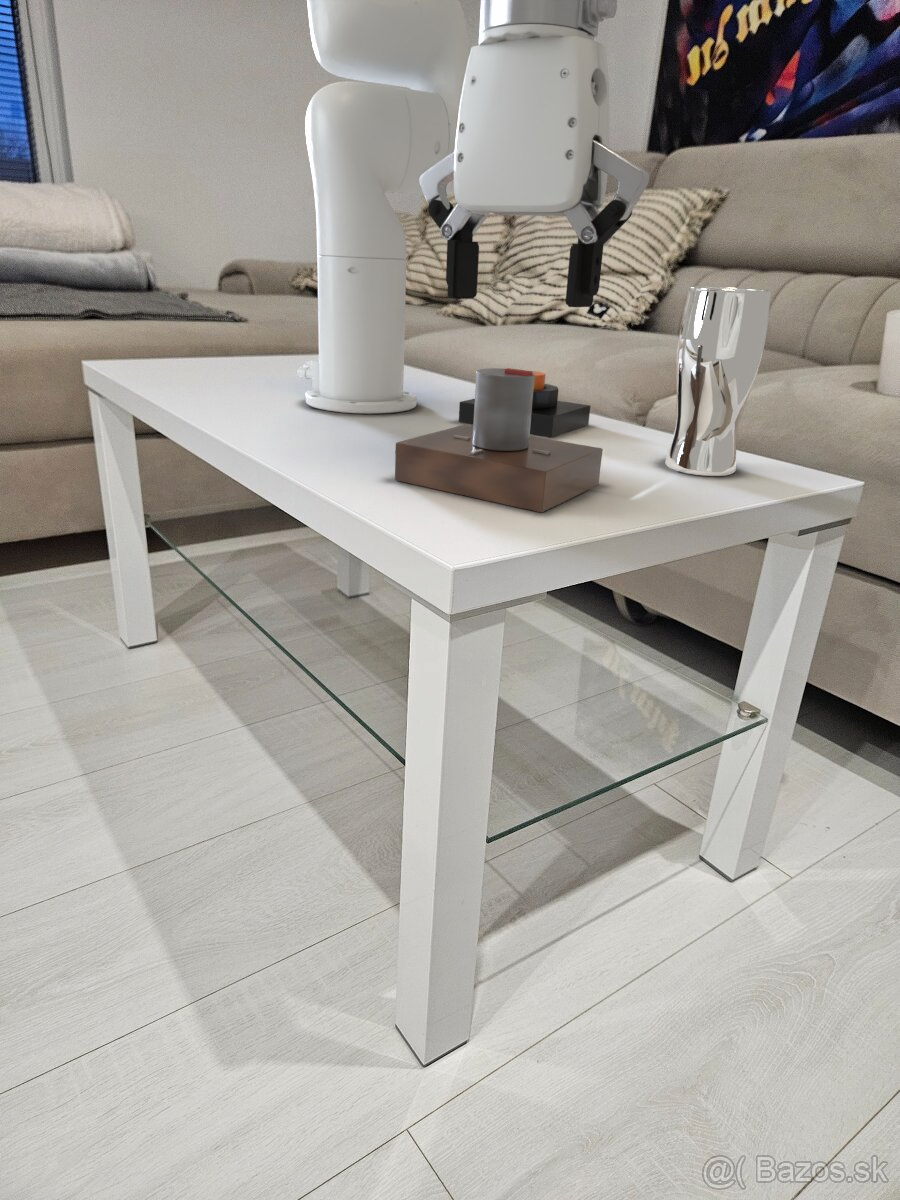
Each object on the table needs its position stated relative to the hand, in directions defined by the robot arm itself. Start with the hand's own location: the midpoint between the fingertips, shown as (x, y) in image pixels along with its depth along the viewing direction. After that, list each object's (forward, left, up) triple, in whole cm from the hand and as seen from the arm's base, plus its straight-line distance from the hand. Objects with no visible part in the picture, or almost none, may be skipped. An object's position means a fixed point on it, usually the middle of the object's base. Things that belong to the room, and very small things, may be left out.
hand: (518, 302), depth 60 cm
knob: (-1, 0, -11) cm, 11 cm away
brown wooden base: (-1, 0, -14) cm, 14 cm away
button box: (-11, +23, -14) cm, 29 cm away
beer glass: (+10, +17, -14) cm, 24 cm away
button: (-11, +23, -10) cm, 27 cm away
